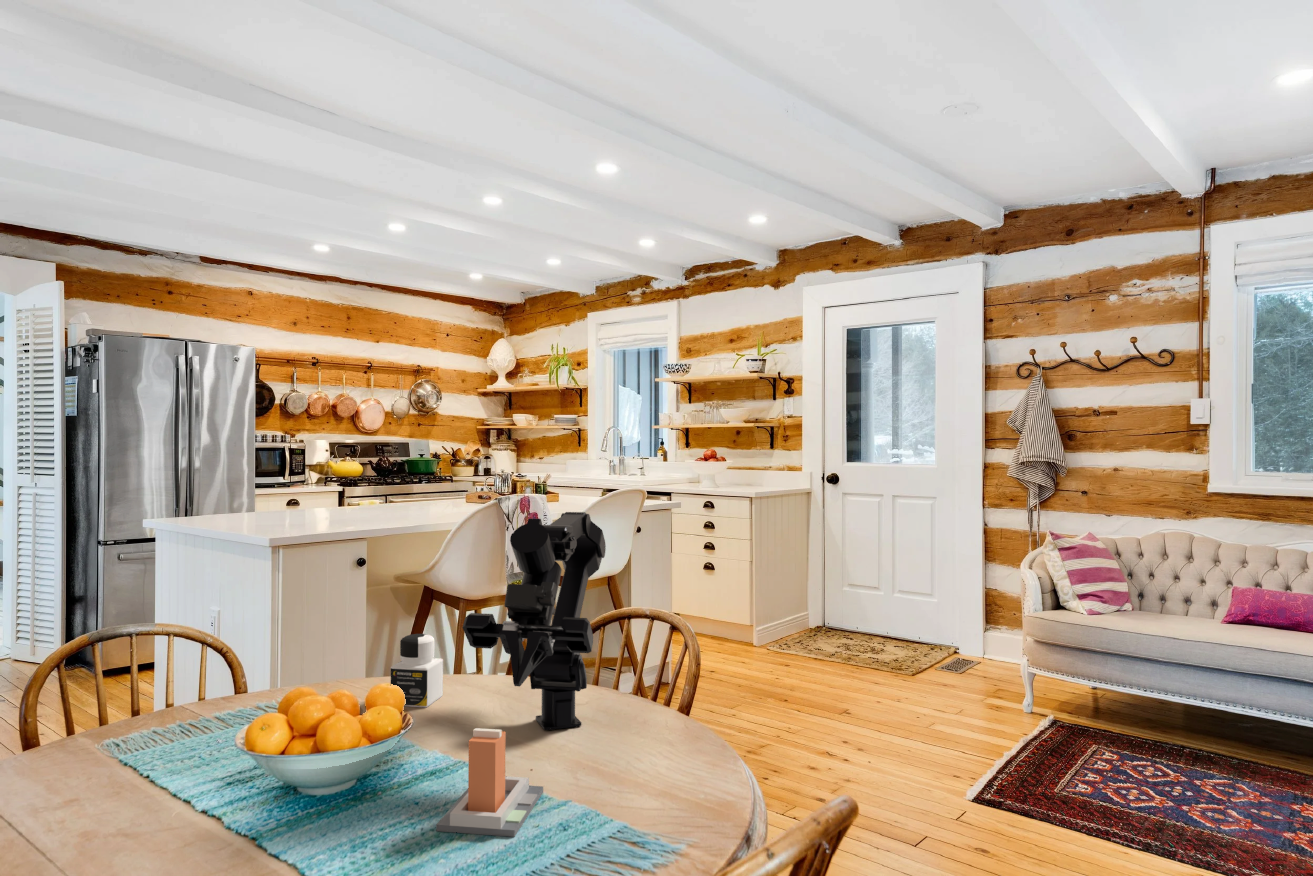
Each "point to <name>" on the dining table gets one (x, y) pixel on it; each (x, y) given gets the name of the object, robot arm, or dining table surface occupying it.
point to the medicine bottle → (418, 671)
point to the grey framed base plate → (500, 823)
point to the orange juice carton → (486, 770)
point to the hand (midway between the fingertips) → (516, 685)
